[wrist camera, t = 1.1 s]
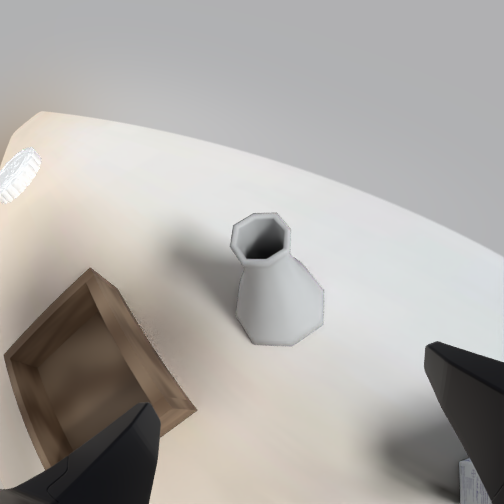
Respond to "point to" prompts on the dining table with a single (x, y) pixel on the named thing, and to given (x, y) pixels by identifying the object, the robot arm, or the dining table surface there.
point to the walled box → (87, 370)
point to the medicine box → (471, 485)
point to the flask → (274, 284)
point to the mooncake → (18, 174)
